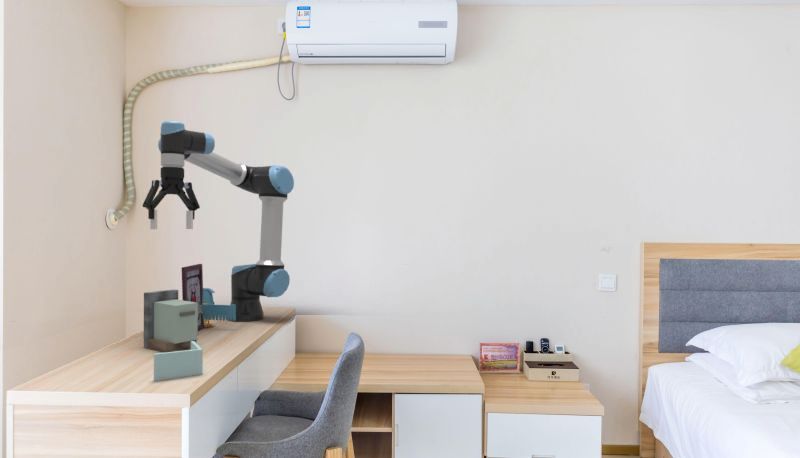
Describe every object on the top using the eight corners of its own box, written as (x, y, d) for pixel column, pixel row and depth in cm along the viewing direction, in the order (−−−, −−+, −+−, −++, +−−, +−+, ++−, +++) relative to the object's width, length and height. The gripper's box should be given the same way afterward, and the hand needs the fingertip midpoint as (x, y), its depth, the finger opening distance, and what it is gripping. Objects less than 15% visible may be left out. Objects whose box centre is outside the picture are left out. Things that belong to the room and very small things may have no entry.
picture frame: (186, 337, 198) (187, 267, 197) (159, 336, 198) (160, 267, 198) (204, 328, 214) (204, 263, 214) (179, 327, 215) (179, 263, 214)
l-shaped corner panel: (193, 366, 160) (193, 341, 160) (202, 377, 150) (202, 349, 150) (148, 372, 154) (148, 345, 154) (154, 383, 143) (154, 354, 143)
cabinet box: (175, 334, 188) (175, 299, 187) (198, 339, 180) (199, 302, 180) (153, 338, 181) (153, 302, 181) (176, 344, 174) (177, 305, 174)
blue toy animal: (243, 325, 220) (243, 287, 219) (235, 330, 211) (235, 290, 211) (175, 324, 222) (175, 286, 221) (164, 328, 213) (164, 289, 213)
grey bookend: (173, 341, 190) (174, 289, 190) (196, 346, 183) (196, 292, 183) (143, 347, 181) (143, 292, 181) (166, 353, 174) (166, 296, 174)
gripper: (197, 170, 202) (196, 228, 202) (131, 164, 181) (131, 229, 181) (210, 169, 198) (209, 229, 198) (144, 163, 177) (144, 229, 177)
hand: (172, 229), depth 190 cm, fingers open, 13 cm apart
